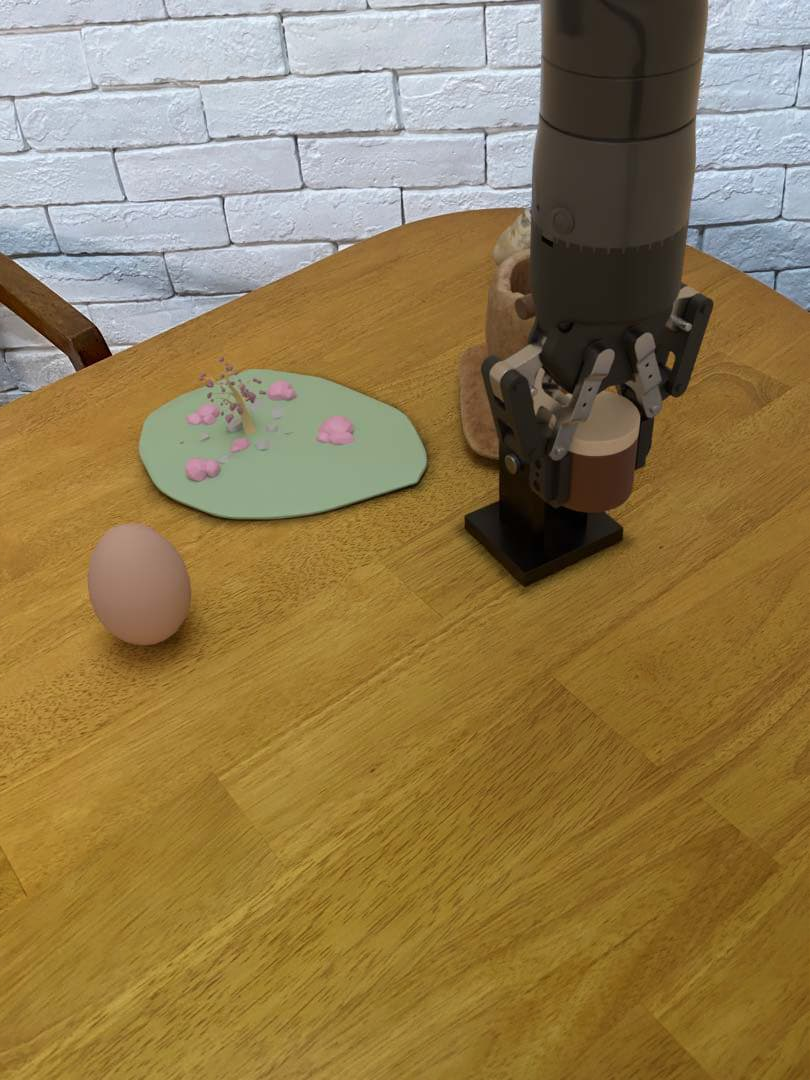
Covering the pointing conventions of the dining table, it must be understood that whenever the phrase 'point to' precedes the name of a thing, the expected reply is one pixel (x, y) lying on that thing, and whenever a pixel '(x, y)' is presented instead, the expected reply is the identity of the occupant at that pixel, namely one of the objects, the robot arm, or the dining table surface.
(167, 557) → the egg
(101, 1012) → the dining table surface
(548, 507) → the black angular piece
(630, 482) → the brown lidded jar
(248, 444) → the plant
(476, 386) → the stone cup
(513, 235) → the seashell
